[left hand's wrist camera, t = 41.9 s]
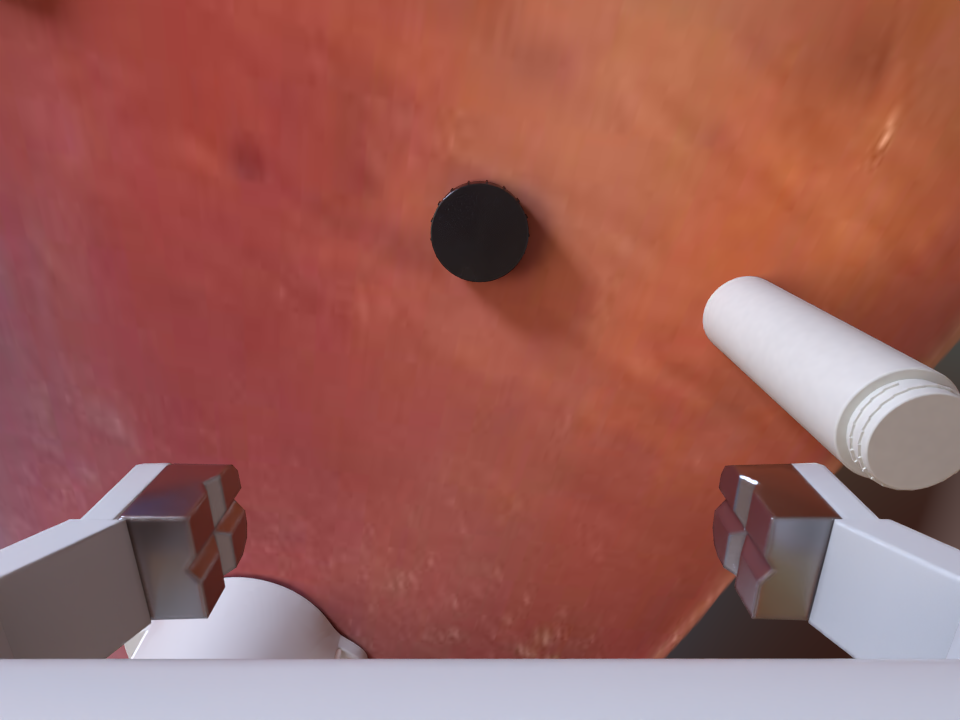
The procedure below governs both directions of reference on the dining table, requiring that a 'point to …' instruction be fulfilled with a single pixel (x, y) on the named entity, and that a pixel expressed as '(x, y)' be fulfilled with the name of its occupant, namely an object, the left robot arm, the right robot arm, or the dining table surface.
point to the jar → (841, 384)
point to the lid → (479, 231)
